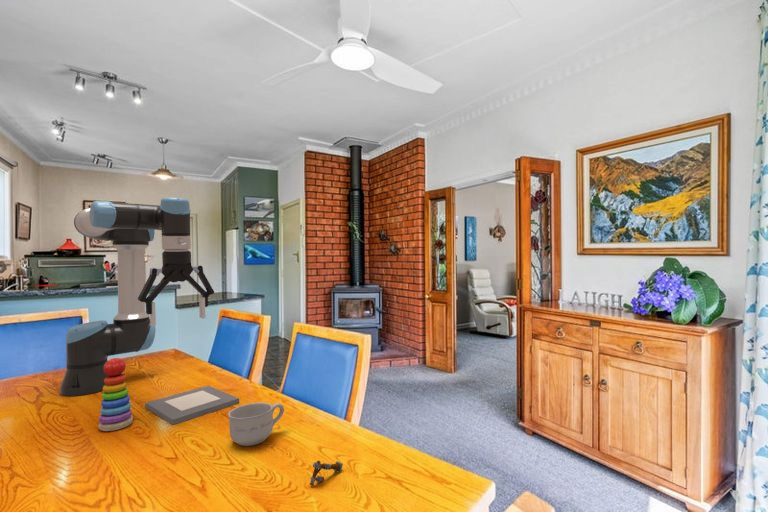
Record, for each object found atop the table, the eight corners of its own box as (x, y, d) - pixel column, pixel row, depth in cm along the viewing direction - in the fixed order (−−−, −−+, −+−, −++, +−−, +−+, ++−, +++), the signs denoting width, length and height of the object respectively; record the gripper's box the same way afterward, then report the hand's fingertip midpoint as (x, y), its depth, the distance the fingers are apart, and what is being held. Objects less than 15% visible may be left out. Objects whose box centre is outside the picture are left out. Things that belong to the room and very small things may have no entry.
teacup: (231, 455, 90) (230, 421, 90) (226, 436, 100) (226, 405, 100) (290, 441, 97) (290, 409, 97) (280, 424, 106) (280, 395, 106)
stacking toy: (140, 420, 110) (139, 354, 110) (118, 433, 103) (117, 362, 102) (114, 419, 111) (113, 354, 111) (90, 432, 103) (89, 362, 103)
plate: (145, 407, 120) (145, 402, 120) (208, 389, 135) (208, 384, 135) (172, 424, 107) (172, 418, 107) (239, 403, 123) (239, 397, 123)
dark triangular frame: (304, 483, 77) (311, 459, 79) (331, 482, 83) (337, 460, 84) (310, 486, 76) (317, 462, 78) (337, 485, 82) (343, 462, 83)
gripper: (130, 252, 103) (133, 331, 104) (224, 249, 120) (225, 316, 122) (123, 251, 108) (126, 325, 109) (214, 248, 125) (216, 313, 127)
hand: (178, 321), depth 116 cm, fingers open, 13 cm apart
